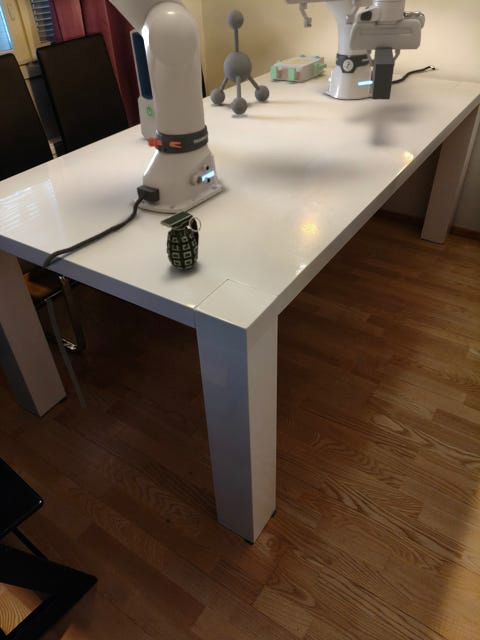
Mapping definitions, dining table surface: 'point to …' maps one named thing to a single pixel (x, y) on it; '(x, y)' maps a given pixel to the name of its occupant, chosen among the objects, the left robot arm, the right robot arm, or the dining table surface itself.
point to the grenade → (182, 240)
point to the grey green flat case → (298, 68)
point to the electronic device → (144, 87)
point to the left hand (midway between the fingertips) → (328, 25)
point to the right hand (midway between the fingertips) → (381, 66)
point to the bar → (382, 73)
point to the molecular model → (238, 71)
